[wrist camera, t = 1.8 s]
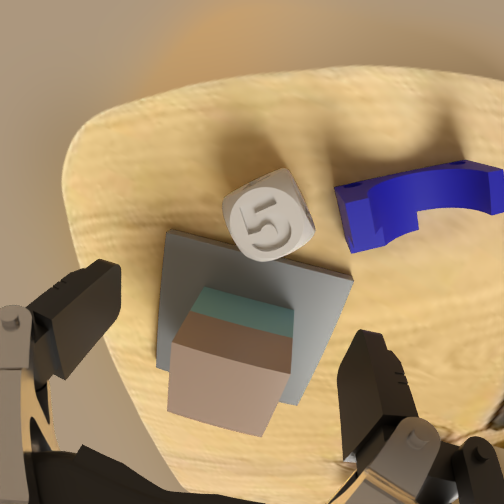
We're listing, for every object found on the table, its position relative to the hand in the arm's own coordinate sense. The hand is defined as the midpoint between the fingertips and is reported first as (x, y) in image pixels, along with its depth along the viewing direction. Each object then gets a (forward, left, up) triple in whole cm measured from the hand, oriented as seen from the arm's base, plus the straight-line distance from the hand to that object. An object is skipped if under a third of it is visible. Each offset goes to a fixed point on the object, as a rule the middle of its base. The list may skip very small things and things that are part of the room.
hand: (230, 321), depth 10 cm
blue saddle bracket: (-11, -4, -16) cm, 20 cm away
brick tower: (0, +12, -16) cm, 20 cm away
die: (0, 0, -16) cm, 16 cm away
